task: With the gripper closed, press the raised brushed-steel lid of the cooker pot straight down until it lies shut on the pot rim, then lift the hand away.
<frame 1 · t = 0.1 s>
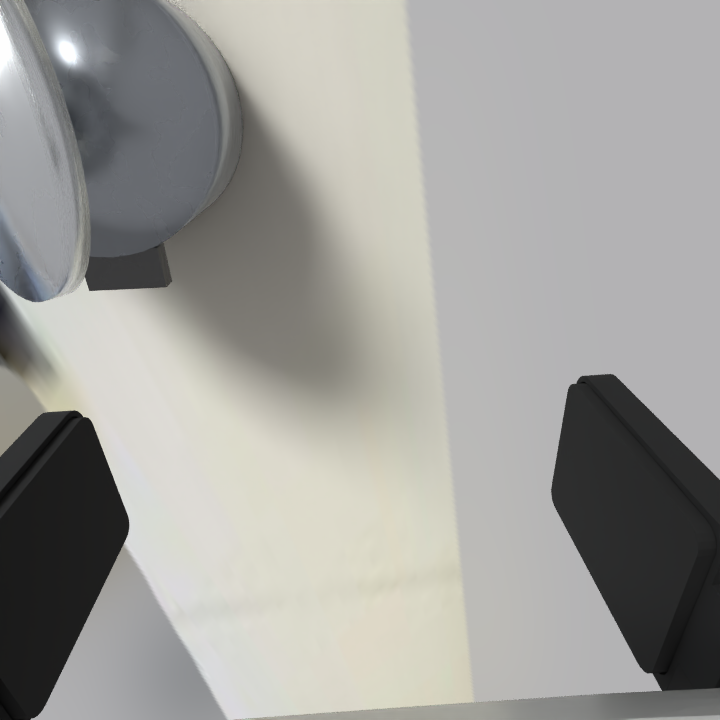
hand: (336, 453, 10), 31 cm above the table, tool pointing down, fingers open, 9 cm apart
pot: (134, 116, 34), on the table
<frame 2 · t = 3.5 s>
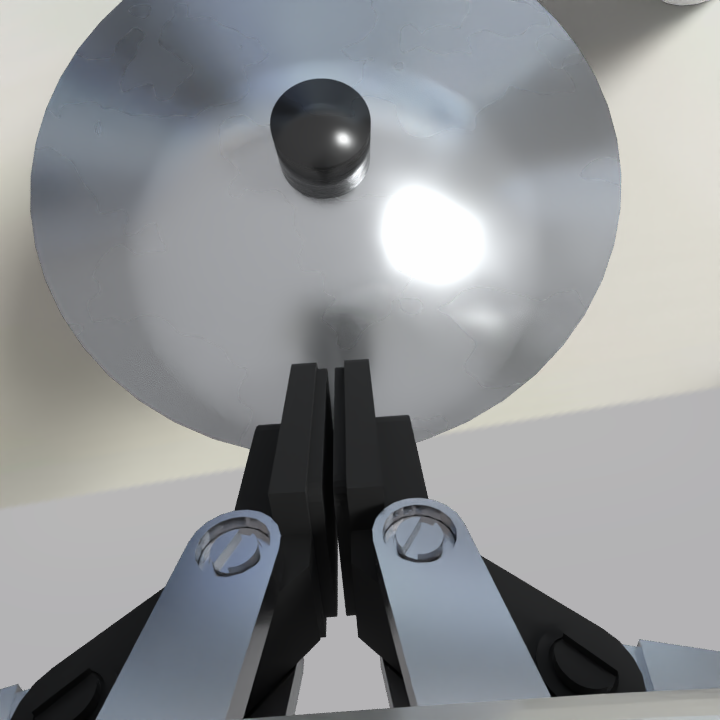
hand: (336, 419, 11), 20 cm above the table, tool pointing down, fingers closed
lid: (324, 152, 13), point 15 cm above the table, hinge at 39.8°, touching gripper
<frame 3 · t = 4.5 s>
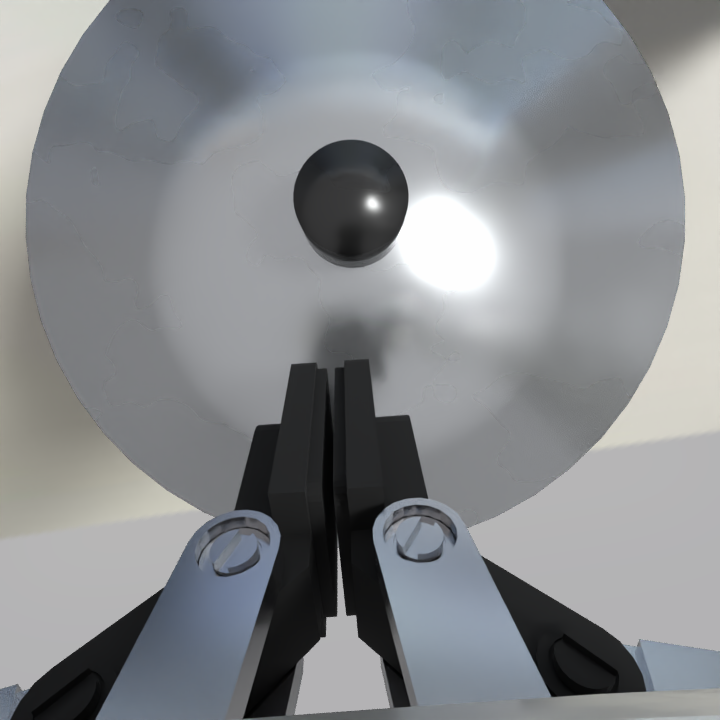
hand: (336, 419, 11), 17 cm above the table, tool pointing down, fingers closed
lid: (352, 211, 11), point 14 cm above the table, hinge at 28.2°, touching gripper
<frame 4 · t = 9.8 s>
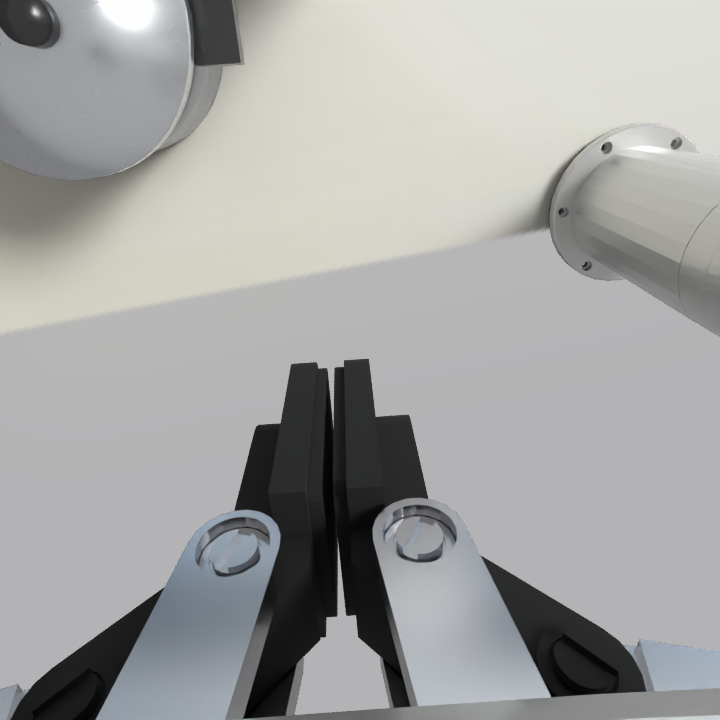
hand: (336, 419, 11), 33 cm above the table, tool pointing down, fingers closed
lid: (34, 19, 25), point 11 cm above the table, hinge at 2.2°
pot: (115, 38, 35), on the table
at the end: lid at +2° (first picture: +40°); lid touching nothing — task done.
